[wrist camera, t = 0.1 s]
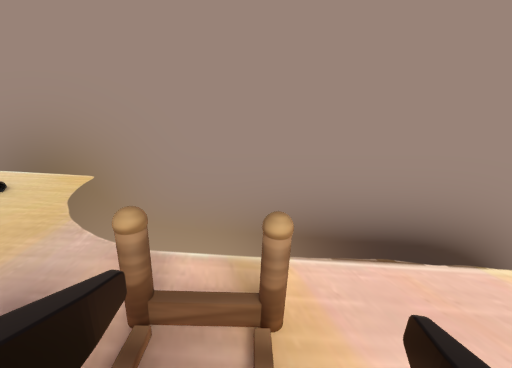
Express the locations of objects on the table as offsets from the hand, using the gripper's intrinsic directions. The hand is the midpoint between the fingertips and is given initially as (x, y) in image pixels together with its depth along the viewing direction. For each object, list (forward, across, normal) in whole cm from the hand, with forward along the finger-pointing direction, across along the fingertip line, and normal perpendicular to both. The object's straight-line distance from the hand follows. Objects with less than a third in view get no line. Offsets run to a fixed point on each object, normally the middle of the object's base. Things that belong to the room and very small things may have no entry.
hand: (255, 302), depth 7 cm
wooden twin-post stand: (+10, +6, +16) cm, 20 cm away
